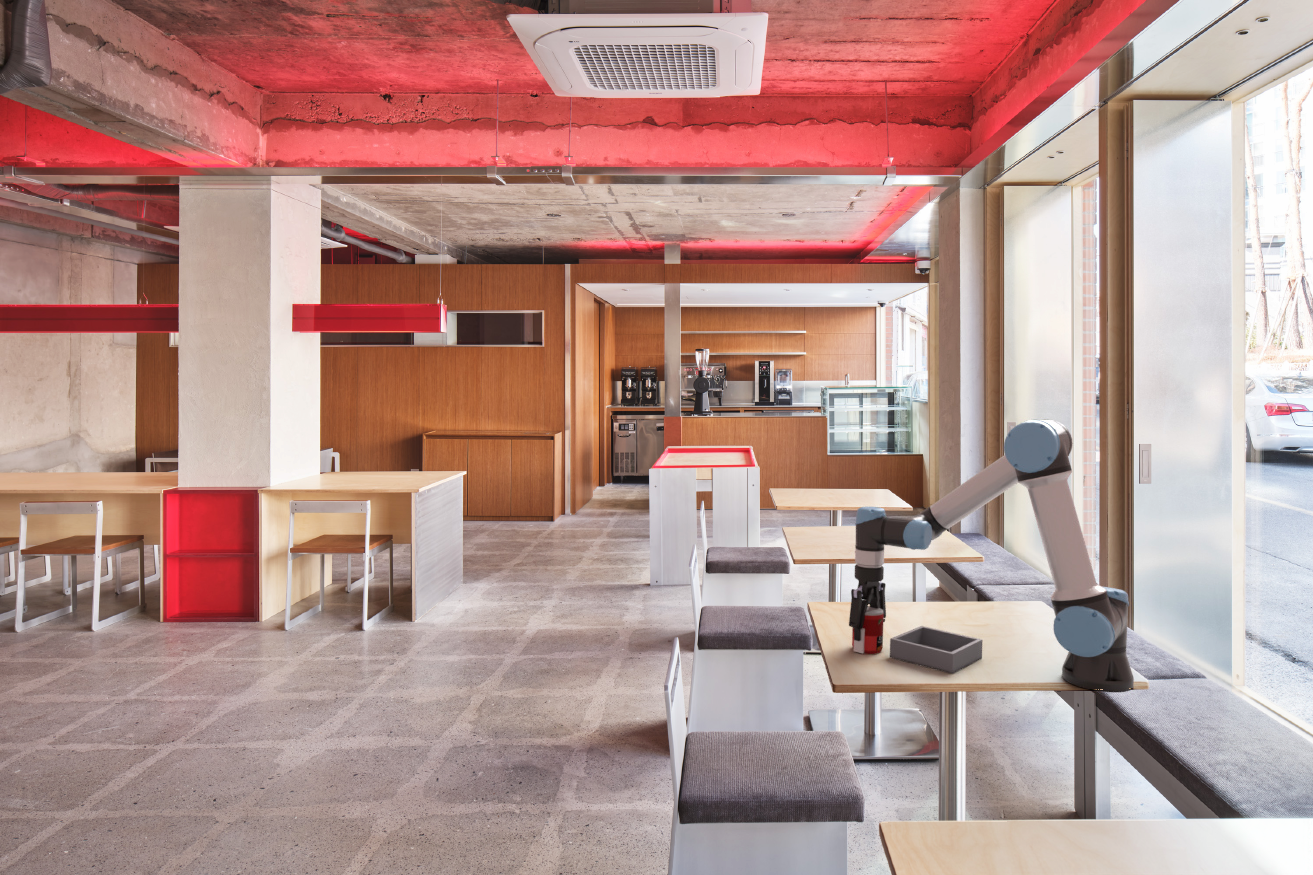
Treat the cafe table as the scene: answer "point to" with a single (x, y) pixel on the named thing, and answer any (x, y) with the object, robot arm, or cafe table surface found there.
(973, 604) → the cafe table surface
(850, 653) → the cafe table surface
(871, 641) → the canned food
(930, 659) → the box
